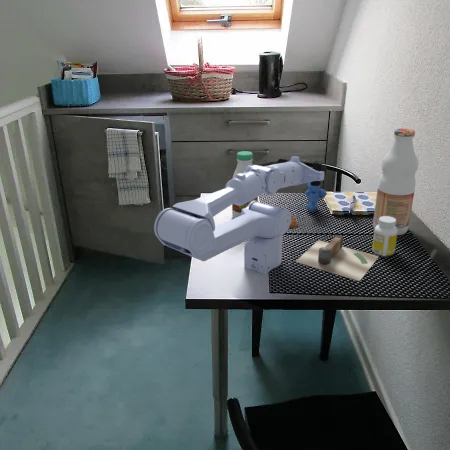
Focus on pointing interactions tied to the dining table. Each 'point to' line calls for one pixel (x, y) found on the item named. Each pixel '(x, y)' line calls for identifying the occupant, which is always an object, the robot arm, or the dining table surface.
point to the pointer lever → (330, 250)
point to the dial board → (340, 261)
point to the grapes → (314, 196)
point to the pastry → (293, 223)
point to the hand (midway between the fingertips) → (311, 169)
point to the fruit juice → (397, 181)
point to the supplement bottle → (385, 236)
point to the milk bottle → (243, 162)
